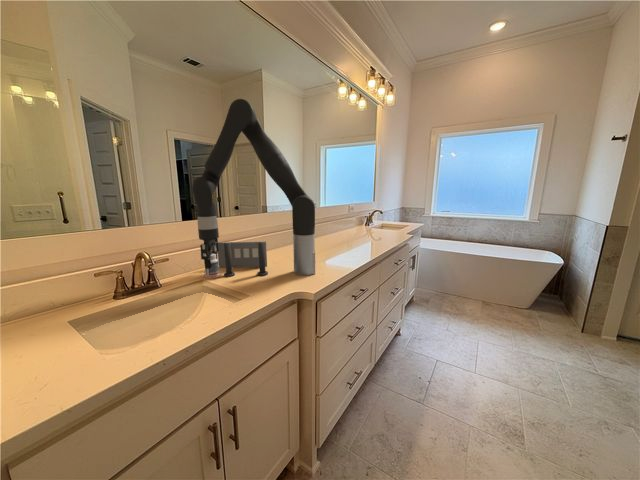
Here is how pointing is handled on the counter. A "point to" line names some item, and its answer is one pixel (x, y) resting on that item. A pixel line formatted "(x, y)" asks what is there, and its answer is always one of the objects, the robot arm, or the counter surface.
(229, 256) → the post
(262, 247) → the post
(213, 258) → the pill bottle
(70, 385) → the counter surface
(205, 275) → the coaster
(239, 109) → the robot arm
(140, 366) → the counter surface
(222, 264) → the panel
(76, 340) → the counter surface
